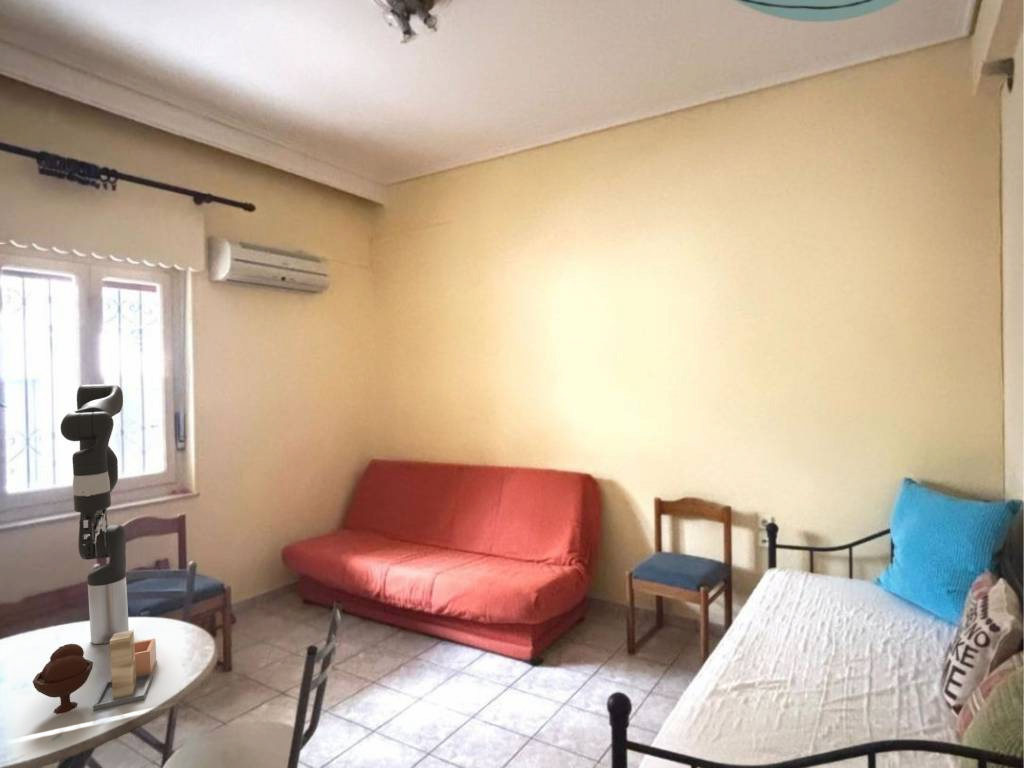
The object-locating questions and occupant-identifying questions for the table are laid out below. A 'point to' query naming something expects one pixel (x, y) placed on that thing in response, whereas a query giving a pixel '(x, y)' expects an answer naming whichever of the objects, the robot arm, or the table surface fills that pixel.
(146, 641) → the orange open box
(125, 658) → the birch peg
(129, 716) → the table surface
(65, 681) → the ice cream bowl
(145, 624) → the table surface
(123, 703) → the grey square tray
